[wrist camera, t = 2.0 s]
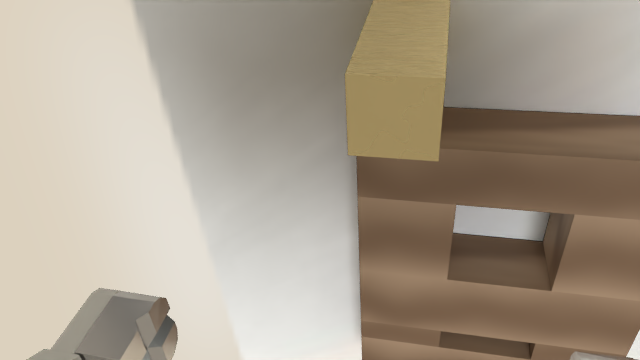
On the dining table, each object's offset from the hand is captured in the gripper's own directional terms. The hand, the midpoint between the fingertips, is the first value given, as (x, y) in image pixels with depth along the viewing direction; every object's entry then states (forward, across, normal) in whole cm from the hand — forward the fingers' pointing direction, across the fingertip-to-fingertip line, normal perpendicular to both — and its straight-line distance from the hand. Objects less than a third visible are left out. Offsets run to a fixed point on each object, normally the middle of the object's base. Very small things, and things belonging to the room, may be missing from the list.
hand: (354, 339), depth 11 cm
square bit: (+16, 0, -1) cm, 16 cm away
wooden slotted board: (+16, -5, +12) cm, 21 cm away
